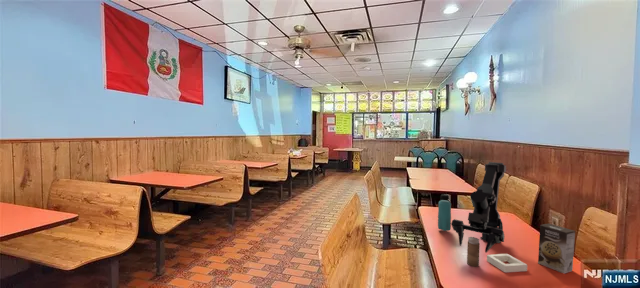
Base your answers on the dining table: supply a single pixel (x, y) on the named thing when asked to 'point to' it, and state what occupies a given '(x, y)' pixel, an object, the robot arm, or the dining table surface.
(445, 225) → the beverage bottle
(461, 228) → the robot arm
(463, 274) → the dining table surface
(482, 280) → the dining table surface
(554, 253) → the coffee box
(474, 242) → the pepper mill
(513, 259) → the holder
